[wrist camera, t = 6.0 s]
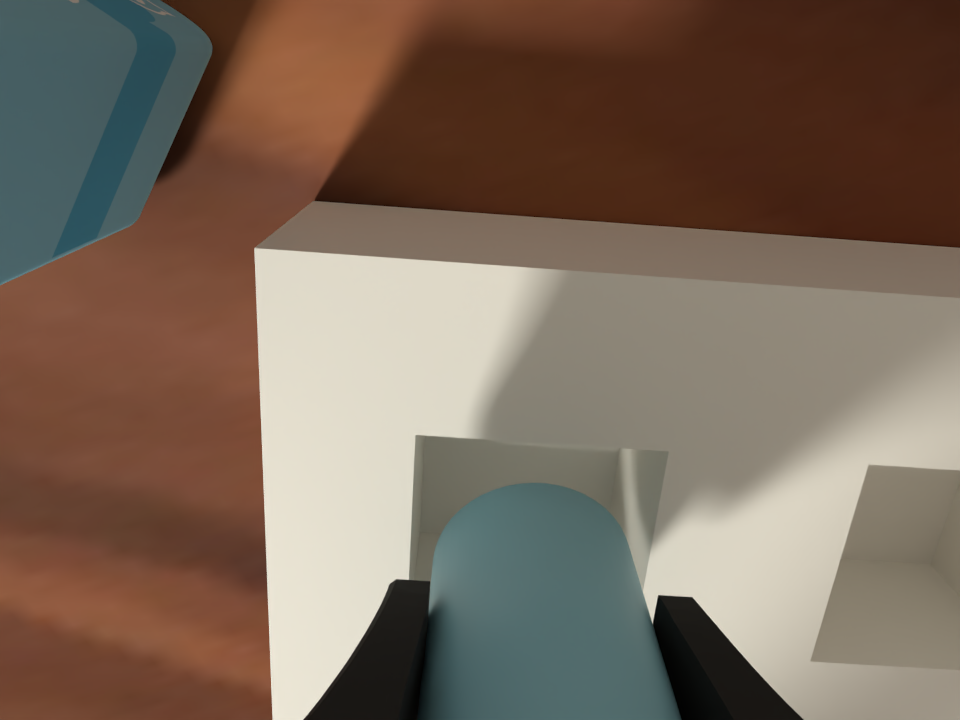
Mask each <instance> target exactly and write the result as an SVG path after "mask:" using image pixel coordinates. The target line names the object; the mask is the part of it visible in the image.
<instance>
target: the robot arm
mask: <svg viewBox="0 0 960 720" xmlns="http://www.w3.org/2000/svg"><path fill="white" fill-rule="evenodd" d="M429 598H430V581H419V580H403V579H396V580H394V581H393V582H392V583H390V584H389V587H388V589H387V592H386V594H385V597H384V599H383V601H382V603H381V605H380V607H379V609H378V611H377V613H376V615H375V617H374V619H373V620H372V622H371V624H370V626H369V627H368V629H367V631H366V633H365V634H364V636H363V637H362V639H361V640H360V642H359V644H358V645H357V647H356V648H355V650H354V652H353V653H352V655H351V656H350V658H349V659H348V661H347V662H346V664H345V665H344V667H343V668H342V670H341V671H340V672H339V674H338V675H337V676H336V678H335V679H334V681H333V682H332V683H331V685H330V686H329V687H328V689H327V690H326V692H325V693H324V694H323V696H322V697H321V698H320V700H319V701H318V702H317V703H316V705H315V706H314V707H313V708H312V710H311V711H310V712H309V713H308V715H307V716H306V717H305V718H304V719H303V720H417V715H418V705H419V695H420V685H421V677H422V671H423V664H424V656H425V646H426V636H427V626H428V615H429ZM653 627H654V630H655V633H656V637H657V640H658V643H659V647H660V650H661V653H662V656H663V660H664V663H665V666H666V670H667V673H668V676H669V679H670V683H671V686H672V689H673V693H674V696H675V699H676V702H677V706H678V709H679V712H680V716H681V719H682V720H804V719H803V718H802V717H801V716H800V715H799V714H797V713H796V712H795V711H794V710H793V709H792V708H791V707H790V706H789V705H788V704H787V703H786V702H785V701H784V700H783V699H782V697H781V696H780V695H779V694H778V693H777V692H776V691H775V690H774V689H773V688H772V687H771V686H770V685H769V684H768V683H767V682H766V681H765V680H764V679H763V677H762V676H761V675H760V674H759V673H758V672H757V671H756V670H755V669H754V668H753V667H752V665H751V664H750V663H749V662H748V661H747V660H746V659H745V658H744V657H743V655H742V654H741V653H740V652H739V651H738V650H737V648H736V647H735V646H734V645H733V644H732V643H731V642H730V640H729V639H728V638H727V637H726V636H725V635H724V633H723V632H722V631H721V630H720V629H719V628H718V626H717V625H716V624H715V623H714V622H713V621H712V619H711V618H710V617H709V616H708V615H707V614H706V612H705V611H704V610H703V609H702V608H701V607H700V605H699V604H698V603H697V602H696V601H695V600H694V599H693V597H682V596H666V595H658V599H657V604H656V609H655V614H654V619H653Z"/></svg>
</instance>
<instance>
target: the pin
mask: <svg viewBox="0 0 960 720" xmlns="http://www.w3.org/2000/svg"><path fill="white" fill-rule="evenodd" d="M417 720H682V719H681V716H680V712H679V709H678V706H677V702H676V699H675V696H674V693H673V689H672V686H671V683H670V679H669V676H668V673H667V670H666V666H665V663H664V660H663V656H662V653H661V650H660V647H659V643H658V640H657V637H656V633H655V630H654V627H653V624H652V620H651V617H650V614H649V610H648V607H647V604H646V601H645V597H644V594H643V591H642V587H641V584H640V581H639V578H638V574H637V571H636V568H635V564H634V561H633V558H632V555H631V551H630V548H629V545H628V542H627V539H626V536H625V534H624V532H623V530H622V528H621V526H620V525H619V523H618V522H617V521H616V519H615V518H614V517H613V516H612V515H611V514H610V513H609V511H608V510H607V509H606V508H604V507H603V506H602V505H601V504H599V503H598V502H597V501H595V500H594V499H592V498H590V497H588V496H587V495H585V494H583V493H580V492H578V491H576V490H573V489H570V488H567V487H563V486H559V485H554V484H548V483H521V484H515V485H509V486H505V487H501V488H498V489H495V490H492V491H490V492H487V493H485V494H483V495H481V496H479V497H477V498H476V499H474V500H472V501H470V502H469V503H468V504H467V505H465V506H464V507H463V508H461V509H460V510H459V511H458V512H457V513H456V514H455V515H454V516H453V517H452V518H451V520H450V521H449V522H448V524H447V525H446V526H445V528H444V529H443V531H442V533H441V535H440V537H439V539H438V542H437V544H436V547H435V552H434V556H433V564H432V574H431V584H430V598H429V615H428V626H427V636H426V646H425V656H424V664H423V671H422V677H421V685H420V695H419V705H418V715H417Z"/></svg>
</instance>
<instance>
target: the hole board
mask: <svg viewBox="0 0 960 720" xmlns="http://www.w3.org/2000/svg"><path fill="white" fill-rule="evenodd" d="M254 249H255V275H256V301H257V326H258V352H259V378H260V404H261V430H262V456H263V482H264V508H265V534H266V560H267V585H268V611H269V637H270V663H271V689H272V715H273V720H303V719H304V718H305V717H306V716H307V715H308V713H309V712H310V711H311V710H312V708H313V707H314V706H315V705H316V703H317V702H318V701H319V700H320V698H321V697H322V696H323V694H324V693H325V692H326V690H327V689H328V687H329V686H330V685H331V683H332V682H333V681H334V679H335V678H336V676H337V675H338V674H339V672H340V671H341V670H342V668H343V667H344V665H345V664H346V662H347V661H348V659H349V658H350V656H351V655H352V653H353V652H354V650H355V648H356V647H357V645H358V644H359V642H360V640H361V639H362V637H363V636H364V634H365V633H366V631H367V629H368V627H369V626H370V624H371V622H372V620H373V619H374V617H375V615H376V613H377V611H378V609H379V607H380V605H381V603H382V601H383V599H384V597H385V594H386V592H387V589H388V587H389V584H390V583H392V582H393V581H394V580H396V579H403V580H419V581H430V584H431V574H432V564H433V556H434V552H435V547H436V544H437V542H438V539H439V537H440V535H441V533H442V531H443V529H444V528H445V526H446V525H447V524H448V522H449V521H450V520H451V518H452V517H453V516H454V515H455V514H456V513H457V512H458V511H459V510H460V509H461V508H463V507H464V506H465V505H467V504H468V503H469V502H470V501H472V500H474V499H476V498H477V497H479V496H481V495H483V494H485V493H487V492H490V491H492V490H495V489H498V488H501V487H505V486H509V485H515V484H521V483H548V484H554V485H559V486H563V487H567V488H570V489H573V490H576V491H578V492H580V493H583V494H585V495H587V496H588V497H590V498H592V499H594V500H595V501H597V502H598V503H599V504H601V505H602V506H603V507H604V508H606V509H607V510H608V511H609V513H610V514H611V515H612V516H613V517H614V518H615V519H616V521H617V522H618V523H619V525H620V526H621V528H622V530H623V532H624V534H625V536H626V539H627V542H628V545H629V548H630V551H631V555H632V558H633V561H634V564H635V568H636V571H637V574H638V578H639V581H640V584H641V587H642V591H643V594H644V597H645V601H646V604H647V607H648V610H649V614H650V617H651V620H652V624H653V619H654V614H655V609H656V604H657V599H658V595H666V596H682V597H693V599H694V600H695V601H696V602H697V603H698V604H699V605H700V607H701V608H702V609H703V610H704V611H705V612H706V614H707V615H708V616H709V617H710V618H711V619H712V621H713V622H714V623H715V624H716V625H717V626H718V628H719V629H720V630H721V631H722V632H723V633H724V635H725V636H726V637H727V638H728V639H729V640H730V642H731V643H732V644H733V645H734V646H735V647H736V648H737V650H738V651H739V652H740V653H741V654H742V655H743V657H744V658H745V659H746V660H747V661H748V662H749V663H750V664H751V665H752V667H753V668H754V669H755V670H756V671H757V672H758V673H759V674H760V675H761V676H762V677H763V679H764V680H765V681H766V682H767V683H768V684H769V685H770V686H771V687H772V688H773V689H774V690H775V691H776V692H777V693H778V694H779V695H780V696H781V697H782V699H783V700H784V701H785V702H786V703H787V704H788V705H789V706H790V707H791V708H792V709H793V710H794V711H795V712H796V713H797V714H799V715H800V716H801V717H802V718H803V719H804V720H960V248H955V247H941V246H928V245H914V244H900V243H886V242H873V241H859V240H845V239H831V238H817V237H804V236H790V235H776V234H762V233H749V232H735V231H721V230H707V229H693V228H680V227H666V226H652V225H638V224H624V223H611V222H597V221H583V220H569V219H556V218H542V217H528V216H514V215H500V214H487V213H473V212H459V211H445V210H431V209H418V208H404V207H390V206H376V205H363V204H349V203H335V202H321V201H313V202H311V203H310V204H309V205H308V206H306V207H305V208H304V209H303V210H301V211H300V212H299V213H298V214H296V215H295V216H294V217H293V218H291V219H290V220H289V221H288V222H287V223H285V224H284V225H283V226H282V227H280V228H279V229H278V230H277V231H275V232H274V233H273V234H272V235H270V236H269V237H268V238H267V239H265V240H264V241H263V242H262V243H260V244H259V245H258V246H257V247H255V248H254Z"/></svg>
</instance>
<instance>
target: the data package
mask: <svg viewBox="0 0 960 720" xmlns="http://www.w3.org/2000/svg"><path fill="white" fill-rule="evenodd" d="M211 55H212V43H211V41H210V39H209V37H208V36H207V35H206V34H205V32H204V31H203V30H202V29H200V28H199V27H198V26H197V25H196V24H194V23H193V22H192V21H191V20H189V19H188V18H186V17H185V16H184V15H182V14H181V13H179V12H178V11H176V10H175V9H173V8H172V7H170V6H169V5H167V4H166V3H164V2H162V1H161V0H0V285H2V284H4V283H6V282H8V281H10V280H13V279H15V278H17V277H19V276H21V275H24V274H26V273H28V272H30V271H32V270H34V269H37V268H39V267H41V266H43V265H45V264H48V263H50V262H52V261H54V260H56V259H59V258H61V257H63V256H65V255H67V254H70V253H72V252H74V251H76V250H78V249H81V248H83V247H85V246H87V245H89V244H92V243H94V242H96V241H98V240H100V239H103V238H105V237H107V236H109V235H111V234H114V233H116V232H118V231H120V230H122V229H124V228H127V227H129V226H131V225H132V224H134V223H135V222H136V221H137V220H138V218H139V217H140V214H141V212H142V210H143V208H144V206H145V203H146V201H147V199H148V197H149V194H150V192H151V190H152V188H153V185H154V183H155V181H156V179H157V176H158V174H159V172H160V170H161V167H162V165H163V163H164V161H165V158H166V156H167V154H168V152H169V149H170V147H171V145H172V143H173V140H174V138H175V136H176V134H177V131H178V129H179V127H180V125H181V122H182V120H183V118H184V116H185V113H186V111H187V109H188V107H189V105H190V102H191V100H192V98H193V96H194V93H195V91H196V89H197V87H198V84H199V82H200V80H201V78H202V75H203V73H204V71H205V69H206V66H207V64H208V62H209V60H210V57H211Z"/></svg>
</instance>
